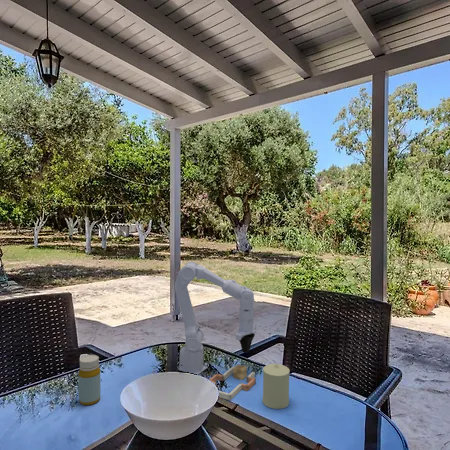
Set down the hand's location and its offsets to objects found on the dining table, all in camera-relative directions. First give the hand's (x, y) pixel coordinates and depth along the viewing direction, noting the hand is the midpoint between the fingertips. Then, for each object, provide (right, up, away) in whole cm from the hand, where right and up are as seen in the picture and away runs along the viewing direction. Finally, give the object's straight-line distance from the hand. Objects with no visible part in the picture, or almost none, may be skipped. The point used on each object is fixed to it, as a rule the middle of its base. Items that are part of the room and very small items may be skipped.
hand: (245, 351), depth 151 cm
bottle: (-55, -10, -22) cm, 60 cm away
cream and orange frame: (-6, -9, -10) cm, 15 cm away
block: (-2, -9, -4) cm, 10 cm away
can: (+9, -10, -22) cm, 26 cm away
